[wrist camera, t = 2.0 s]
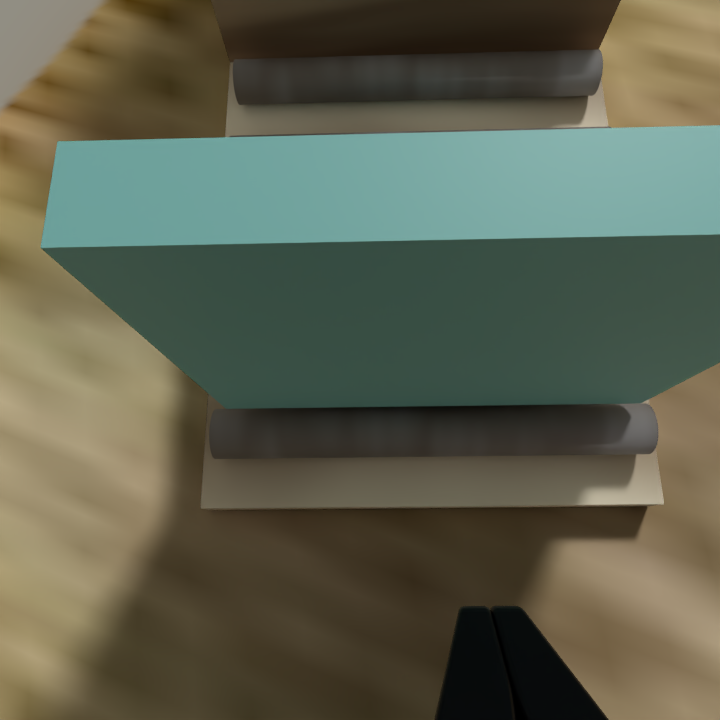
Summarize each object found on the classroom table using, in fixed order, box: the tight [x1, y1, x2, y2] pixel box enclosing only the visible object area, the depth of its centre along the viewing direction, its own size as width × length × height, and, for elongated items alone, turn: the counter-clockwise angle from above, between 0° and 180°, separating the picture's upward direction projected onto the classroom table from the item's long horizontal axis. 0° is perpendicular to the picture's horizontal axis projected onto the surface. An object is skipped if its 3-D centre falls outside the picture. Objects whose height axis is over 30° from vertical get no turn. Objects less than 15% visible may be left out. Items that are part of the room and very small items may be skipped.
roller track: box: [201, 0, 664, 510], centre depth 18 cm, size 18×13×6 cm
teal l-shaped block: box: [41, 125, 720, 409], centre depth 13 cm, size 7×11×9 cm, turn 90°
